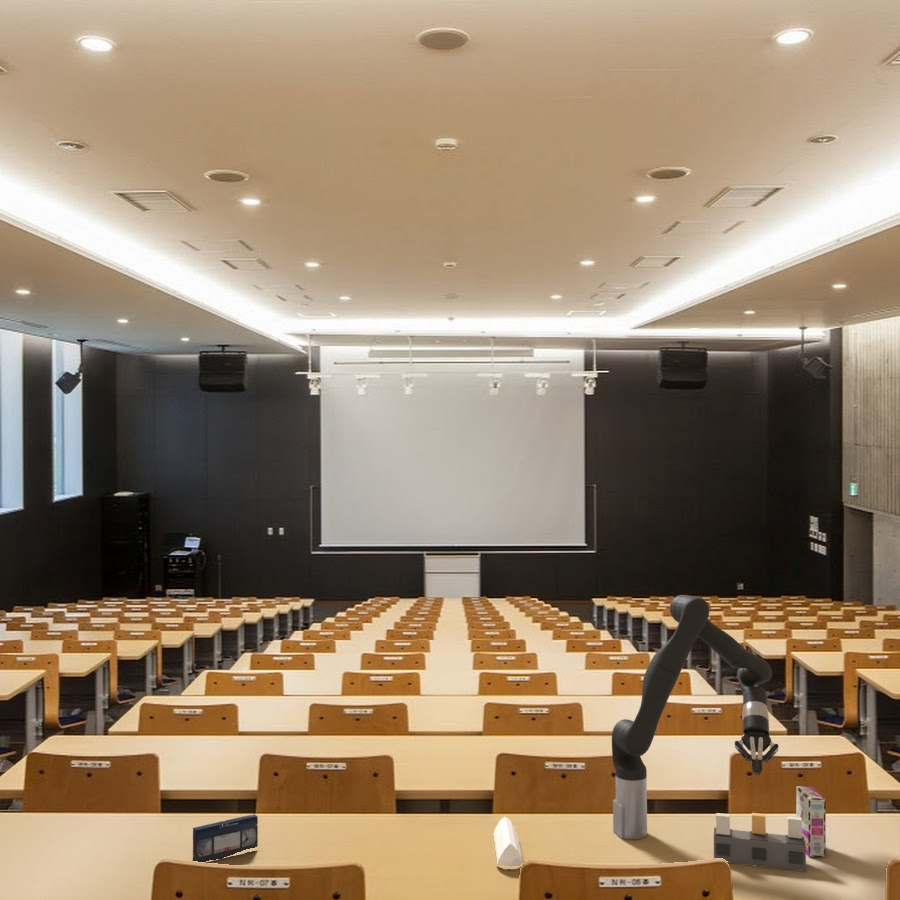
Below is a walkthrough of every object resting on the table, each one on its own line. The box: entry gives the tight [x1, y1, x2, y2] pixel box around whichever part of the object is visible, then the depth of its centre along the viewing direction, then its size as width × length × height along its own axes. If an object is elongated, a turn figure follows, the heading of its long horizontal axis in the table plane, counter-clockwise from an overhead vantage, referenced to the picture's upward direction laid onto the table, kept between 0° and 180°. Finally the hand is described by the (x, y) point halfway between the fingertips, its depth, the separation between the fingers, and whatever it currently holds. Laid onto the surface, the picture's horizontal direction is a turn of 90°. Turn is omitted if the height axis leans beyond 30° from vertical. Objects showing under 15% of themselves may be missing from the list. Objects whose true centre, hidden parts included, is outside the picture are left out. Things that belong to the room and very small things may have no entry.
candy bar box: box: [795, 785, 827, 858], centre depth 269 cm, size 11×5×16 cm, turn 178°
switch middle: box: [751, 812, 767, 835], centre depth 262 cm, size 4×2×5 cm, turn 73°
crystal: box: [492, 816, 524, 867], centre depth 267 cm, size 7×7×24 cm
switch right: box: [787, 816, 802, 838], centre depth 260 cm, size 4×2×5 cm, turn 73°
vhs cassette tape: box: [192, 813, 259, 862], centre depth 266 cm, size 18×3×10 cm, turn 122°
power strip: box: [713, 827, 807, 872], centre depth 261 cm, size 24×6×7 cm, turn 73°
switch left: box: [715, 812, 731, 835], centre depth 262 cm, size 4×2×5 cm, turn 73°
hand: (757, 773), depth 273 cm, fingers closed
